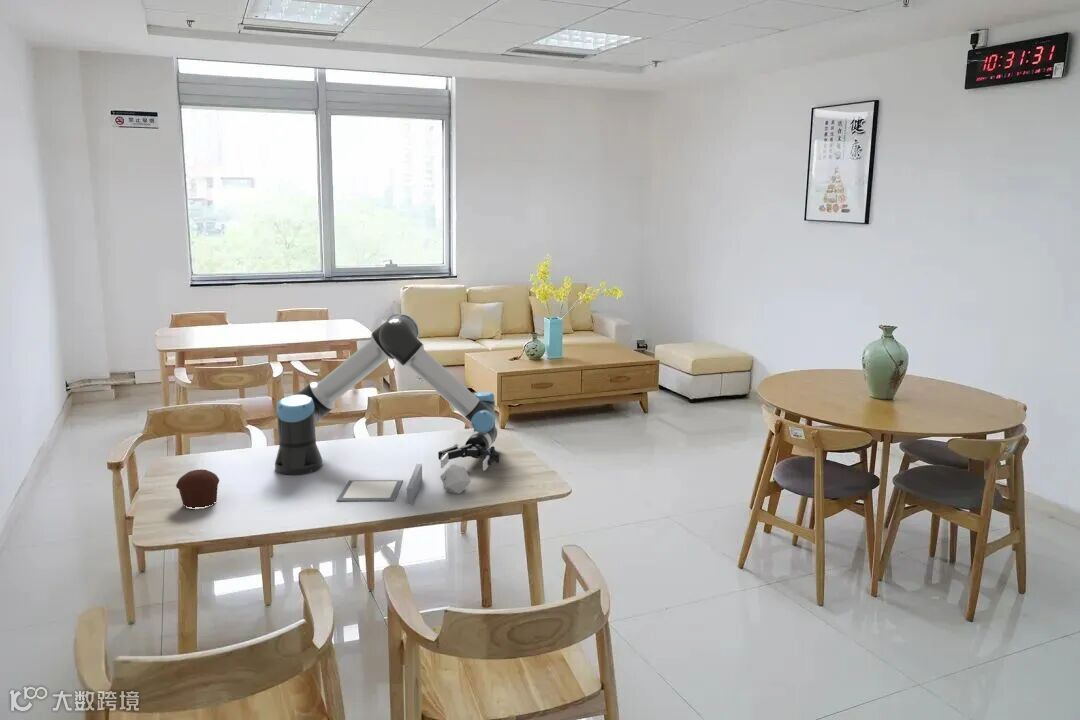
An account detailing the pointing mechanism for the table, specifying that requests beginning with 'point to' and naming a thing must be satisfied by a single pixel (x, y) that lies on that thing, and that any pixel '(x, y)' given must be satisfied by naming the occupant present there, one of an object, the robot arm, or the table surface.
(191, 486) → the muffin
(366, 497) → the mat
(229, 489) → the table surface
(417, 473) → the low wall
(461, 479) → the die
